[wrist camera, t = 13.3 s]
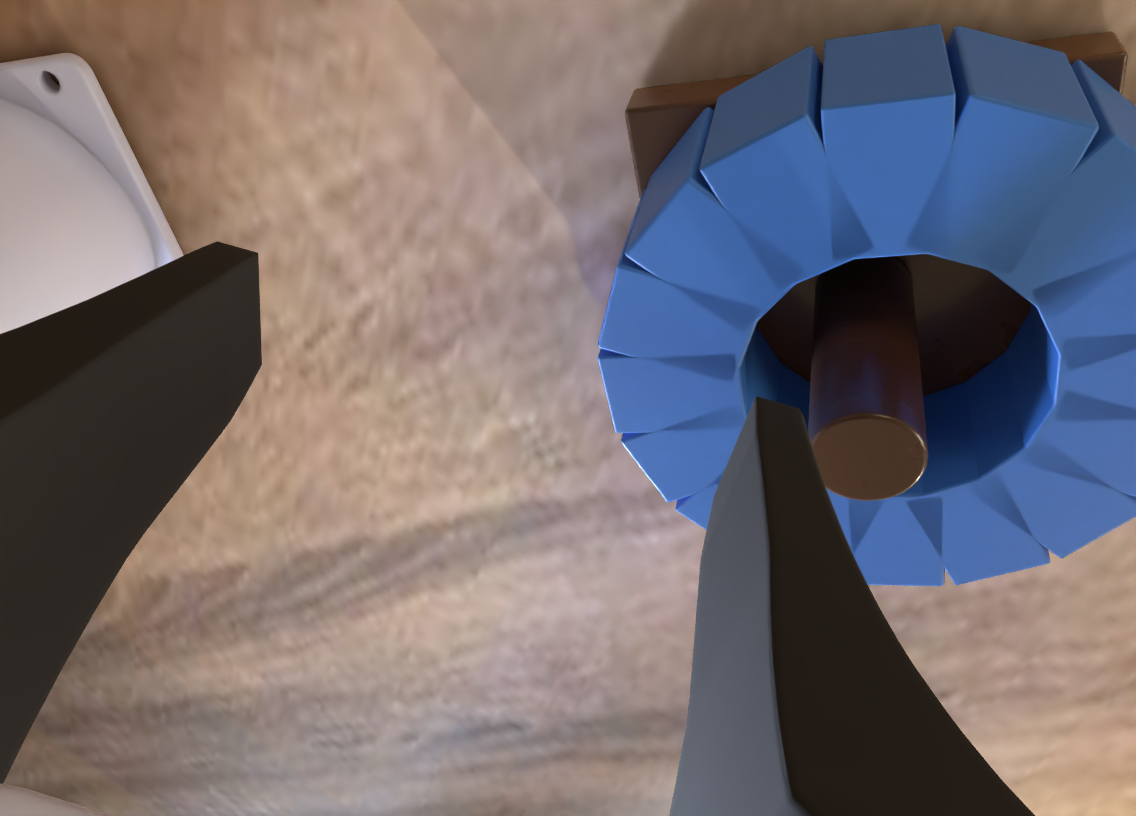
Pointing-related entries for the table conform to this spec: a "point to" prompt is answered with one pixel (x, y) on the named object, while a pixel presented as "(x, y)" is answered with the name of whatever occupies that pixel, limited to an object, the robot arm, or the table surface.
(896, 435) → the stand
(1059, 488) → the tape
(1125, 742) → the table surface
